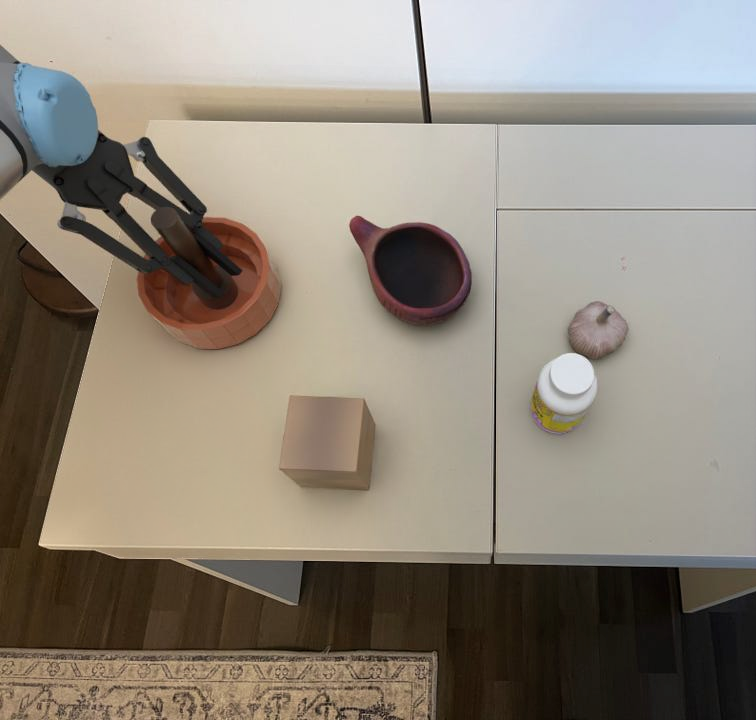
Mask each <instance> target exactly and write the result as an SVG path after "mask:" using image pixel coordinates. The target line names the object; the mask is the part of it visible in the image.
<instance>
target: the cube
mask: <svg viewBox="0 0 756 720" xmlns="http://www.w3.org/2000/svg"><path fill="white" fill-rule="evenodd" d="M286 412H287V413H286V420H285V425H284V431H283V437H282V438H283V439H282V445H281V449H280V451H281V452H280V457H279V463H278V469H279V470H280V471H281V472H282V473H283V474H284V475H285V476H287V477H288V478H289V479H290V480H292V482H294V483H295V484H296V485H298V486H299V487H300V488H302V489H325V490H349V491H351V490H352V491H370V486H371V476H372V466H373V456H374V447H375V446H374V445H375V436H376V423H375V420H374V418H373V416H372V413H371V411H370V409H369V406H368V405H367V402H366V400H365V398H362V397H361V398H360V397H339V396H338V397H336V396H315V395H314V396H313V395H292V394H291V395H289V397H288V405H287V411H286Z"/></svg>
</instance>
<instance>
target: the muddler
mask: <svg viewBox="0 0 756 720" xmlns="http://www.w3.org/2000/svg"><path fill="white" fill-rule="evenodd" d="M150 224H151V226H152V227H153V228H154V229H155V230H156V232H157V233H158V234H159V236H161V237H162V238H163V239H164V241H165V242H166V243H167V244H168V246H169V247H170V248H171V250H172V251H173V252H174V253H175V255H179V256H180V257H181V258H182V259H183V260H185V261H186V262H187V263H188V264H190V265H191V266H192V267H193V268H194V269H196V270H197V271H198V272H199V273H201V274H202V275H203V276H204V277H205V278H207V279H208V280H209V281H210V282H212V283H213V284H214V285H215V286H216V287H218V288H219V289H220V290H221V291H223V292H224V294H223V295H222V296H221V298H213V297H212V296H210V295H209V294H208V293H207V292H205V291H204V290H203V289H202V288H200V287H199V286H198V285H197V284H195V283H194V282H192V289H193V291H194V293H195V294H196V295H197V296H198V298H199V299H200V300H201V301H202V303H203V304H204V305H205V306H206V307H208V308H210V309H216V310H218V309H224V308H226V307H228V306H230V305H231V304H232V303H233V302H234V301H235V300H236V298H237V295H238V287H237V284H236V283H235V281H234V280H233V278H232V277H231V275H230V274H229V273H227V272H226V271H225V270H224V269H223V268H221V267H220V266H216V265H213V264H212V262H211V261H210V259H209V258H208V256H207V255H206V253H205V252H204V251H203V249H202V248H201V246H200V245H199V243H198V242H197V240H196V239H195V238H194V236H193V235H192V233H191V232H190V230H189V229H188V227H187V226H186V225H185V223H184V222H183V220H182V219H181V217H180V216H179V214H178V213H177V212H176V210H175V209H173V208H171V207H162V208H159V209H157V210H155V211H153V213H152V214H151V215H150Z"/></svg>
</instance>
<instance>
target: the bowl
mask: <svg viewBox="0 0 756 720" xmlns="http://www.w3.org/2000/svg"><path fill="white" fill-rule="evenodd" d="M348 227H349V231H350V233H351V235H352V237H353V239H354V242H355V243H356V245H357V246H358V247H359V249H360V251H361V252H362V254H363V257H364V259H365V262H366V267H367V271H368V276H369V281H370V283H371V286H372V290H373V292H374V294H375V296H376V298H377V300H378V301H379V303H380V305H381V306H382V308H384V309H385V310H386V311H387V312H388V313H389V314H390V315H392V316H393V317H395V318H396V319H398V320H401V321H403V322H406V323H409V324H412V325H421V326H424V325H425V326H429V325H435V324H440V323H441V322H445V320H448V319H449V318H451V317H453V315H455V314H456V313H457V312H458V311H460V310H461V308H462V307H463V306H464V305H465V303H466V302H467V300H468V299H469V296H470V293H471V289H472V283H473V279H472V278H473V277H472V276H473V275H472V273H473V272H472V268H471V265H470V264H471V263H470V262H469V259H468V257H467V255H466V252H465V251H464V249H463V248H462V246H461V245H460V243H459V241H458V240H457V238H455V237H454V236H453V235H452V234H450V233H449V232H447V231H445V230H444V229H442V228H441V227H439V226H437V225H435V224H432V223H429V222H421V221H419V222H417V221H416V222H415V221H412V222H411V221H410V222H403V223H399V224H396V225H393V226H390V227H386V228H385V227H380V226H378V225H376V224H374V223H373V222H371V221H369V220H368V219H366V218H365V217H363V216H361V215H355V216H354V217H353V216H352V218H351V219H350V221H349V224H348Z"/></svg>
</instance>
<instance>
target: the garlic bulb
mask: <svg viewBox="0 0 756 720" xmlns="http://www.w3.org/2000/svg"><path fill="white" fill-rule="evenodd" d="M628 332H629V324H628V322H627V320H626V319H625V318H624V317H623V316H622V314H621V313H620V312H618V311H617V310H616V308H615V307H613V306H612V305H610V304H607V303H605V302H602V301H592V302H589V303H588V304H587V305H586V306H584V307H583V308H581V309H579V310H578V311H576V313H575V314H574V316H573V318H572V319H571V321H570V323H569V325H568V327H567V336H568V337H569V344H570V346H571V348H572V349H573V350H574V352H576V353H577V354H579V355H582V356H586V357H588V358H589V359H592V360H597V359H598V360H599V359H600V358H602V357H603V356H606V355H609V354H611V353H613V352H614V350H615V349H616V348H619V347H620V346H621V345H622V344H623V343H624V341H625V338H626V336H627V334H628Z"/></svg>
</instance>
